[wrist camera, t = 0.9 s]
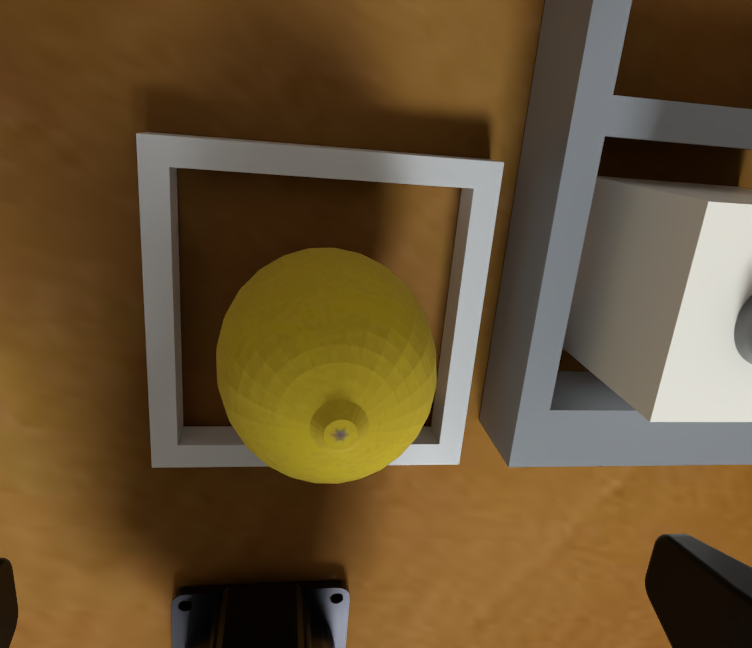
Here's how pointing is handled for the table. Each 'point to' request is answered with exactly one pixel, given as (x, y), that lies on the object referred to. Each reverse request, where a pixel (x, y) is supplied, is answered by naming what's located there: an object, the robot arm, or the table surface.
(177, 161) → the frame
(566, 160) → the grey double frame tray
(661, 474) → the table surface
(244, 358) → the lemon
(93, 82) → the table surface
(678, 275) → the single plug block
